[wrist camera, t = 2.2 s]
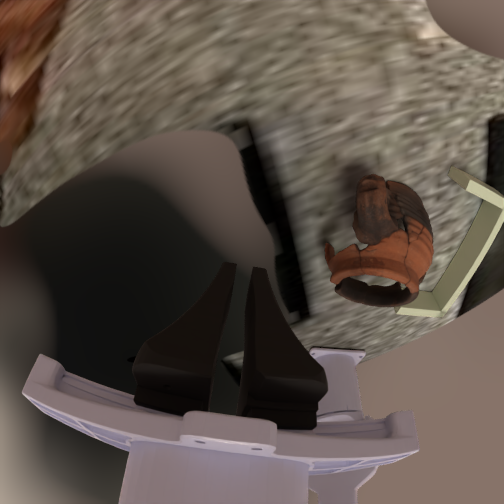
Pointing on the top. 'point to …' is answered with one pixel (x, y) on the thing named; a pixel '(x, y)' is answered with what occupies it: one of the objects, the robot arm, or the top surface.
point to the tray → (462, 250)
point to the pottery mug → (384, 245)
